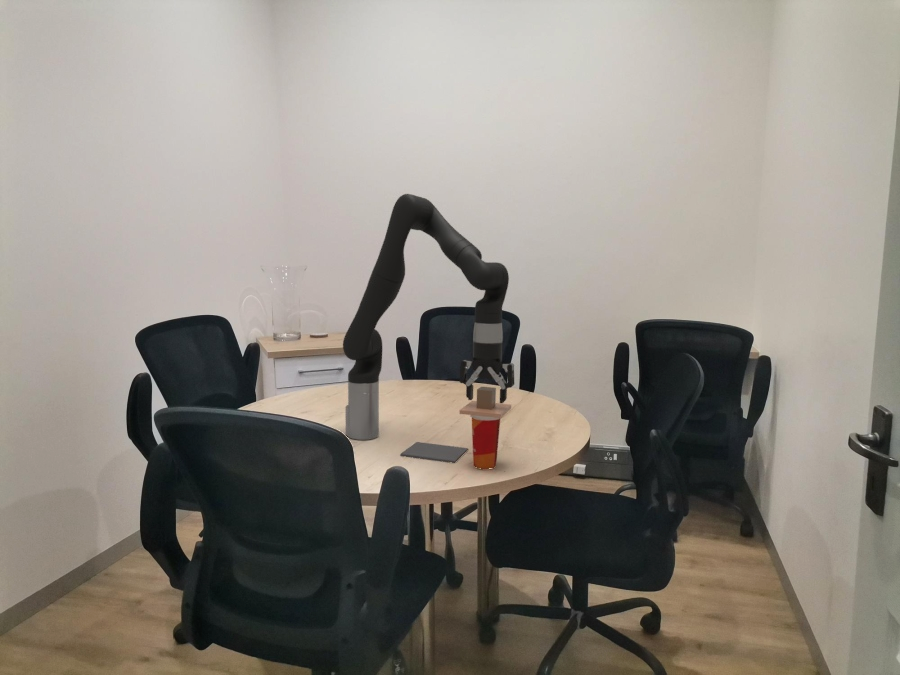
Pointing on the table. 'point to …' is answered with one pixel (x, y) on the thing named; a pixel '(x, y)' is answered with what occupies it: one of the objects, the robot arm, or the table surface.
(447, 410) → the table surface
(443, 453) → the mat
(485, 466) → the coffee cup
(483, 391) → the cover
